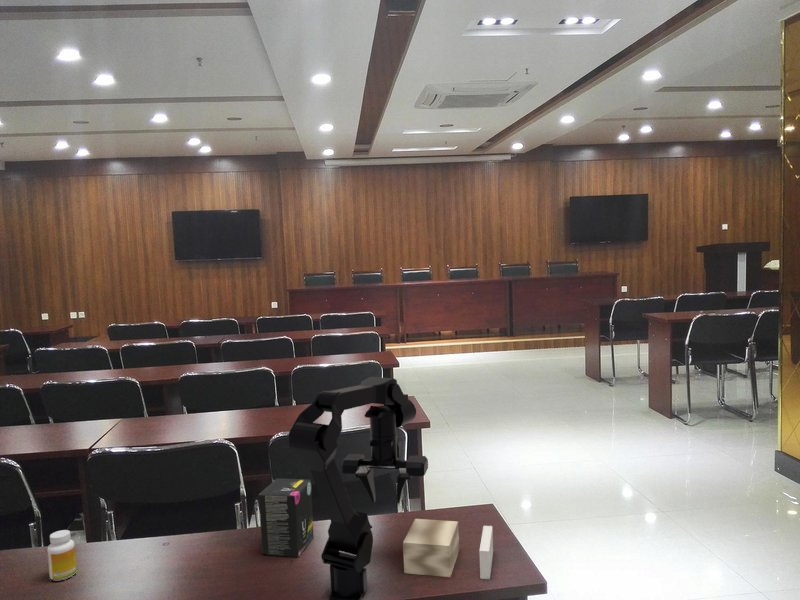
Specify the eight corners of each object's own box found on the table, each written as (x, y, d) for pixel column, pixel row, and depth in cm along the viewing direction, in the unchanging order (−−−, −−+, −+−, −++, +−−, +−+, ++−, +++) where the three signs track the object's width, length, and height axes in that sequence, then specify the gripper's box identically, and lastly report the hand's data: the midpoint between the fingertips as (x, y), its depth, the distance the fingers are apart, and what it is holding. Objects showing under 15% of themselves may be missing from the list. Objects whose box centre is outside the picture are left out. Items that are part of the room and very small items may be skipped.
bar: (480, 578, 129) (479, 550, 129) (484, 551, 141) (483, 525, 141) (489, 579, 129) (489, 551, 128) (493, 551, 141) (492, 526, 140)
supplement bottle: (82, 573, 138) (78, 531, 137) (58, 584, 134) (55, 541, 133) (68, 568, 141) (64, 526, 140) (44, 579, 136) (40, 536, 136)
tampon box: (299, 558, 141) (295, 495, 140) (261, 555, 143) (257, 494, 142) (315, 536, 152) (312, 478, 151) (279, 534, 154) (276, 477, 153)
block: (404, 573, 133) (402, 542, 132) (416, 547, 144) (415, 518, 144) (450, 578, 130) (449, 545, 130) (459, 551, 142) (458, 521, 141)
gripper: (430, 424, 143) (433, 490, 144) (353, 423, 147) (356, 487, 148) (422, 438, 132) (425, 509, 134) (338, 436, 136) (342, 505, 137)
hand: (386, 502), depth 138 cm, fingers open, 5 cm apart
